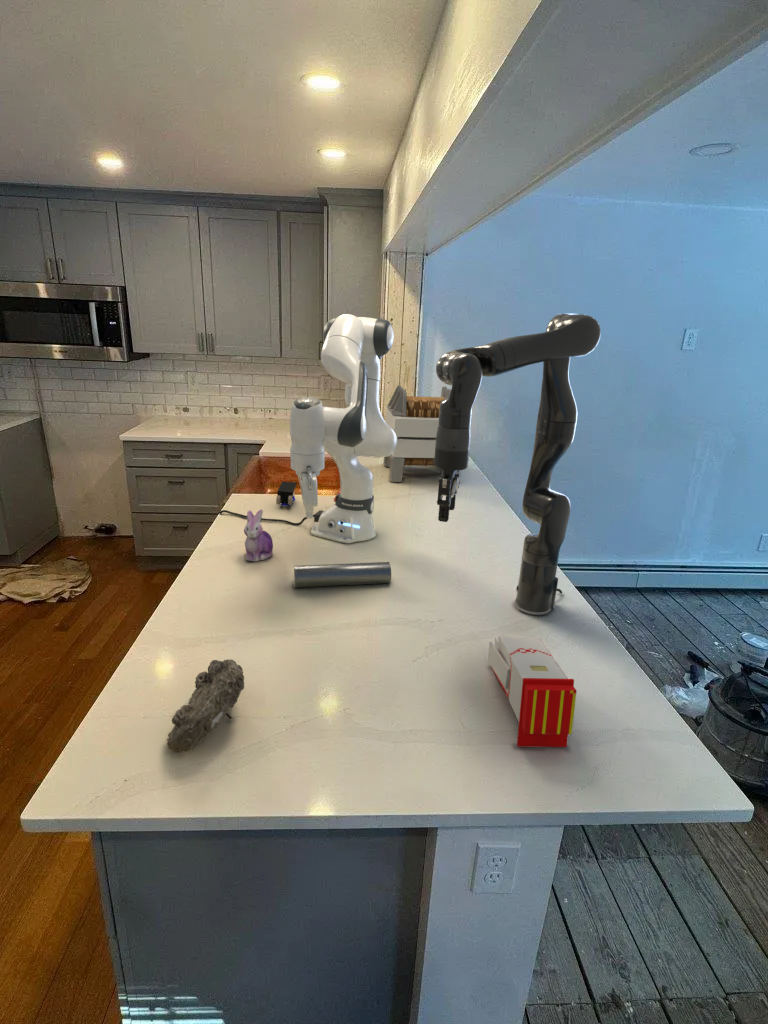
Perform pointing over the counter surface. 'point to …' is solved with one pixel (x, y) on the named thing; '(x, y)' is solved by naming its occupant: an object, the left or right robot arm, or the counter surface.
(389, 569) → the rod
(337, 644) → the counter surface
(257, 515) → the figurine
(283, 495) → the figurine character
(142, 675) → the counter surface
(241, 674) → the fossil
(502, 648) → the toy
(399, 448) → the transformer
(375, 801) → the counter surface
